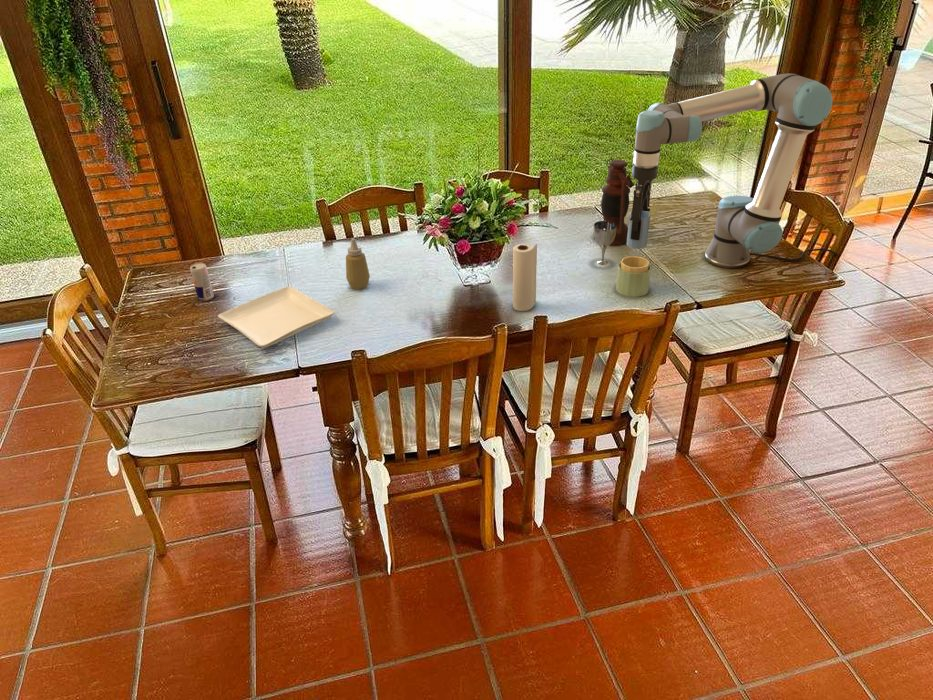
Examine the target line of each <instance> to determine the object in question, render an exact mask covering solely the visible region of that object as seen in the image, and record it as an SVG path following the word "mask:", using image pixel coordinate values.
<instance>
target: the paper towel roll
mask: <svg viewBox="0 0 933 700" xmlns="http://www.w3.org/2000/svg"><path fill="white" fill-rule="evenodd" d="M537 262H538V244H537V243H536V244H535V245H534V246H532V245H531V244H529V243H528V244H527V243H518V244H515V245H514V246H513V247H512V307H513V308H512V309H514V310H515V311H518V312H527V311H530V310H531V309H532V308H533V307H534V305H535V304H536V303H537V266H538V265H537V264H538V263H537Z"/></svg>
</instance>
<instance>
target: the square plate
mask: <svg viewBox="0 0 933 700" xmlns="http://www.w3.org/2000/svg"><path fill="white" fill-rule="evenodd" d="M333 315H335V311H334V310H332V309H330V308H329V307H327V306H326V305H324V304H322V303H321V302H319V301H317V300H315V299H314V298H311V297H310V296H308V295H306V294H305V293H303V292H301V291H300V290H299V289H296V288H294V287H292V286H290V285H288V286H285V287H282V288H279V289H277V290H274V291H272V292H268V293H266V294H264V295H261V296H259V297H256V298H253V299H252V300H249V301H247V302H244V303H241V304H239V305H237V306H235V307H232V308H230V309H227V310H226V311H223V312H221V313H219V314H217V317H218V318H219V319H220V320H222V321H223V322H225V323H226V324H227V325H229V326H230V327H232V328H234V329H235V330H236V331H238V332H239V333H241V334H242V335H243V336H245V337H246V338H247V339H249V340H250V341H251V342H252V343H253V344H255V345H256V346H258V347H259V348H261V349H266V348H270V347H271V346H273V345H275V344H278V343H280V342H282V341H284V340H286V339H288V338H290V337H292V336H295V335H296V334H300V333H301V332H303V331H305V330H308V329H310V328H312V327H315V326H316V325H319V324H321V323H324V322H325V321H326V320H329V319H330V318H332V316H333Z"/></svg>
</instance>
